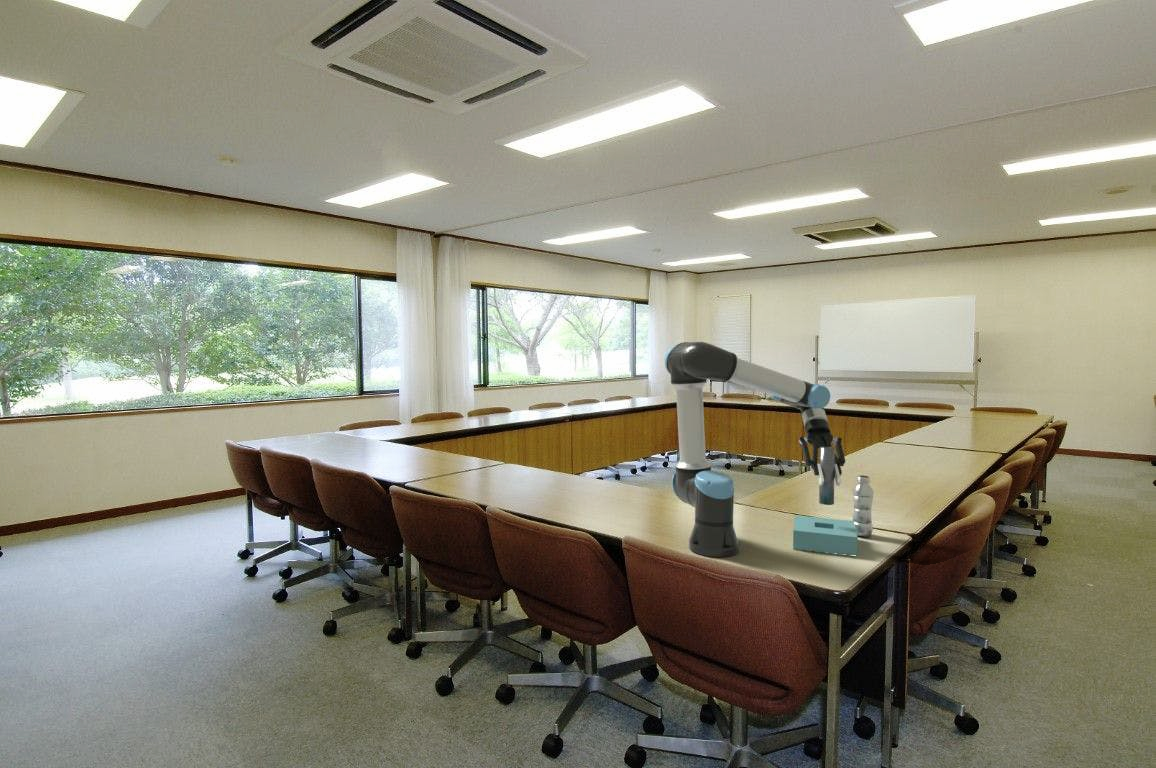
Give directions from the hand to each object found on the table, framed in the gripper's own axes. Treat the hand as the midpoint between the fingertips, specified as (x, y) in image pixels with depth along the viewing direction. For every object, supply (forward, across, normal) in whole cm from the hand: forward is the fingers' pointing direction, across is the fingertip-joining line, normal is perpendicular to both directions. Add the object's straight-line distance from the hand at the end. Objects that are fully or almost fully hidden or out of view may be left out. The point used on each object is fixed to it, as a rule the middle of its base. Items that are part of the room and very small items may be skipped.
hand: (830, 483), depth 179 cm
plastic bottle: (+5, -14, -24) cm, 29 cm away
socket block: (+12, +1, -17) cm, 21 cm away
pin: (+2, 0, -8) cm, 8 cm away
